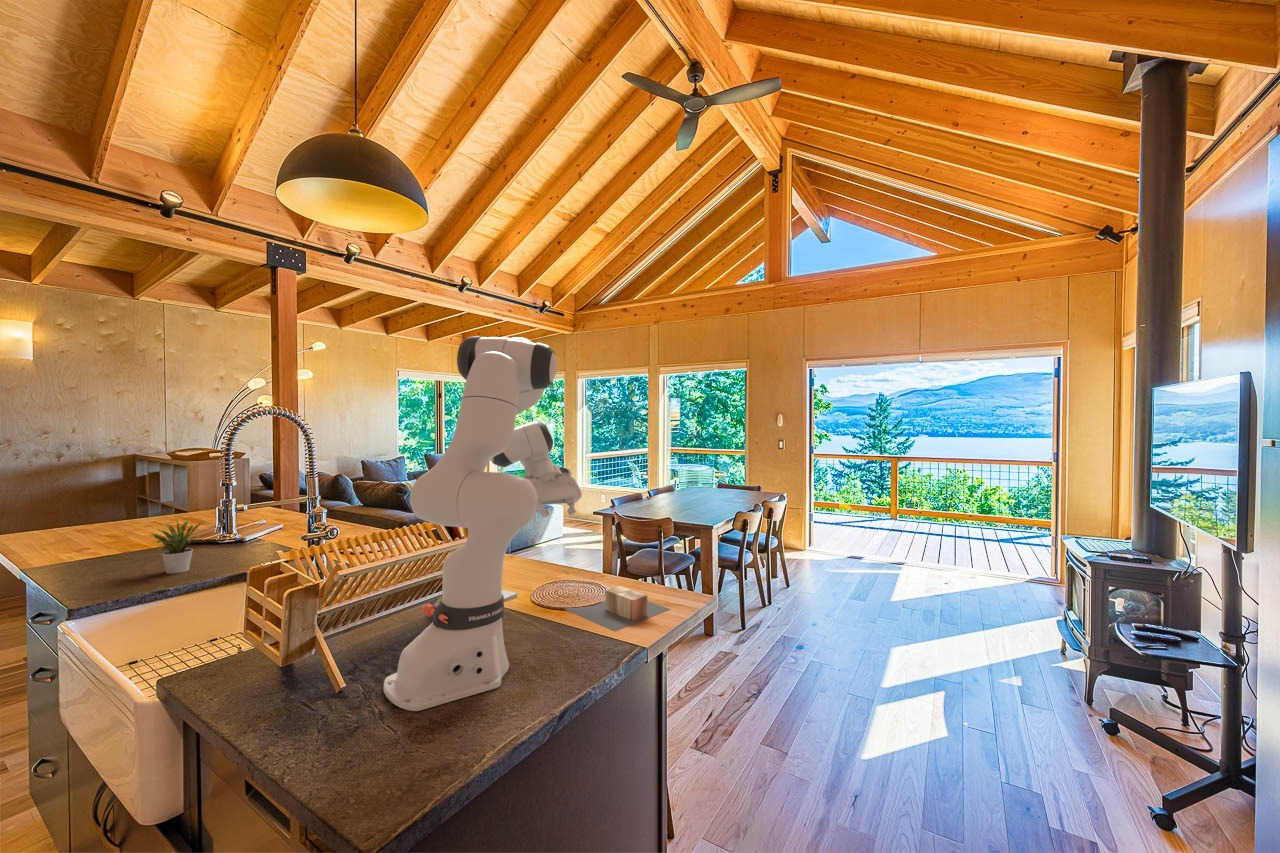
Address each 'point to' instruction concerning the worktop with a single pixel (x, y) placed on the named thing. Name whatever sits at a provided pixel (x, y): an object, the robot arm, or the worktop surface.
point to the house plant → (177, 548)
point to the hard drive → (508, 595)
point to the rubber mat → (614, 615)
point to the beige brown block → (626, 602)
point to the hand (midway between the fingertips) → (559, 514)
